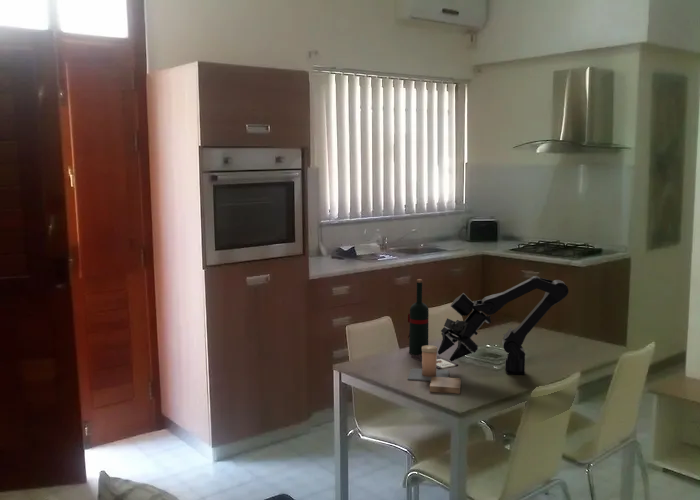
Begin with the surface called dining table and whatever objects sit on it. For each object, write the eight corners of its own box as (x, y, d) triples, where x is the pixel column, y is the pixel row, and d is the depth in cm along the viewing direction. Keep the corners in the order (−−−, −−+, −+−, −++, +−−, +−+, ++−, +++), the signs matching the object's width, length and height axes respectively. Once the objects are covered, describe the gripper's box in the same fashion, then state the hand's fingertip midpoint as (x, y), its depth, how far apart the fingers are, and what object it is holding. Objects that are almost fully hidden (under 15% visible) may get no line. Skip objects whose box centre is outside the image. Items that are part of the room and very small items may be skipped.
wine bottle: (416, 347, 280) (416, 276, 276) (432, 353, 272) (433, 279, 268) (401, 350, 275) (402, 278, 271) (417, 356, 267) (418, 281, 263)
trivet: (460, 383, 234) (460, 378, 234) (459, 393, 224) (459, 387, 224) (431, 382, 236) (431, 376, 236) (429, 391, 226) (429, 386, 226)
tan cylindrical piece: (437, 372, 245) (437, 345, 244) (436, 377, 240) (436, 350, 238) (421, 371, 246) (422, 344, 245) (420, 376, 241) (421, 349, 239)
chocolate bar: (430, 352, 270) (458, 364, 255) (429, 354, 271) (458, 366, 255) (411, 355, 266) (438, 368, 250) (411, 358, 266) (438, 370, 251)
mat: (449, 371, 248) (449, 370, 248) (447, 382, 236) (447, 380, 236) (411, 369, 250) (411, 368, 250) (407, 379, 238) (407, 378, 238)
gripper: (445, 305, 252) (419, 337, 250) (470, 316, 235) (442, 350, 233) (464, 324, 256) (437, 355, 254) (490, 336, 239) (462, 369, 236)
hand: (444, 357), depth 244 cm, fingers open, 9 cm apart
